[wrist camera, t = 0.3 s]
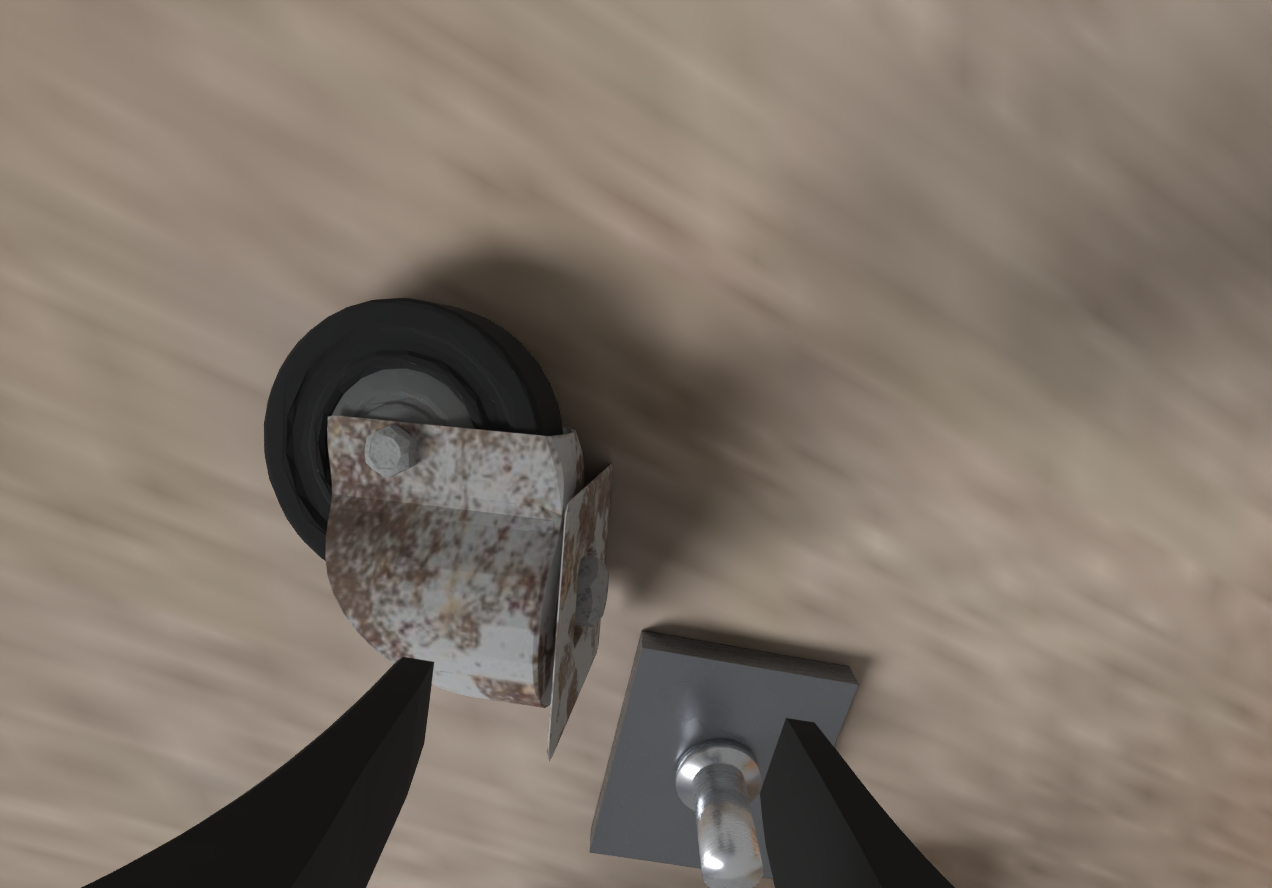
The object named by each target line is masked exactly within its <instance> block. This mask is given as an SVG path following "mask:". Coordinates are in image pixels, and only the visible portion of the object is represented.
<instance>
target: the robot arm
mask: <svg viewBox="0 0 1272 888" xmlns="http://www.w3.org/2000/svg"><path fill="white" fill-rule="evenodd" d="M433 669H434V662H433V661H426V660H420V659H414V658H408V657H402V658H401V659H399V660H397V661H396V662H395V664H394V665H393V666H392V667H391V668H390V669H389V670H388V671H387V672H386V673H385V674H384V675H383V676H382V677H381V678H380V679H379V680H378V682H377V683H376V684H375V685H374V686H373V687H372V688H371V689H370V690H369V691H367V692H366V693H365V694H364V695H363V696H362V697H361V698H360V699H359V700H358V701H357V702H356V703H355V704H354V705H353V706H352V707H351V708H350V709H349V710H347V711H346V712H345V713H344V714H343V715H342V716H341V717H340V718H339V719H338V720H337V721H335V722H334V723H333V724H332V725H331V726H330V727H329V728H328V729H327V730H325V731H324V732H323V733H322V734H321V735H320V736H318V737H317V738H316V739H315V740H314V741H312V742H311V743H310V744H309V745H307V746H306V747H305V748H304V749H303V750H301V751H300V752H299V753H298V754H297V755H295V756H294V757H293V758H292V759H290V760H289V761H288V762H287V763H285V764H284V765H283V766H281V767H280V768H279V769H278V770H276V771H275V772H274V773H272V774H271V775H270V776H268V777H267V778H266V779H264V780H263V781H261V782H260V783H259V784H257V785H256V786H254V787H253V788H252V789H250V790H249V791H247V792H246V793H245V794H243V795H242V796H240V797H239V798H237V799H236V800H234V801H233V802H231V803H230V804H228V805H227V806H225V807H224V808H222V809H221V810H219V811H217V812H216V813H214V814H213V815H211V816H210V817H208V818H207V819H205V820H204V821H202V822H200V823H199V824H197V825H196V826H194V827H192V828H191V829H189V830H187V831H186V832H184V833H183V834H181V835H179V836H177V837H176V838H174V839H172V840H171V841H169V842H167V843H165V844H163V845H162V846H160V847H158V848H156V849H154V850H152V851H151V852H149V853H147V854H145V855H143V856H142V857H140V858H138V859H136V860H134V861H133V862H131V863H129V864H127V865H125V866H123V867H122V868H120V869H118V870H116V871H114V872H112V873H110V874H108V875H106V876H104V877H102V878H100V879H98V880H96V881H94V882H92V883H90V884H88V885H86V886H84V887H81V888H366V886H367V884H368V882H369V880H370V877H371V875H372V873H373V871H374V868H375V866H376V864H377V862H378V860H379V857H380V855H381V853H382V851H383V848H384V846H385V844H386V842H387V840H388V837H389V835H390V833H391V831H392V828H393V826H394V824H395V822H396V819H397V817H398V815H399V813H400V810H401V808H402V806H403V803H404V801H405V799H406V797H407V794H408V791H409V788H410V785H411V782H412V779H413V776H414V773H415V770H416V767H417V764H418V761H419V758H420V754H421V751H422V748H423V745H424V740H425V732H426V725H427V717H428V709H429V701H430V693H431V685H432V677H433ZM760 801H761V811H762V821H763V829H764V836H765V844H766V850H767V854H768V859H769V863H770V867H771V872H772V876H773V880H774V884H775V888H955V887H954V886H953V885H952V884H951V883H950V882H949V881H948V880H947V879H946V878H944V877H943V876H942V875H941V874H940V872H939V871H938V870H937V869H936V868H935V867H934V866H933V865H932V864H931V863H930V862H929V861H928V860H927V859H926V858H925V857H924V855H923V854H922V853H921V852H920V851H919V850H918V849H917V848H916V847H915V845H914V844H913V843H912V842H911V841H910V840H909V839H908V838H907V836H906V835H905V834H904V833H903V832H902V831H901V830H900V829H899V827H898V826H897V825H896V824H895V823H894V821H893V820H892V819H891V818H890V817H889V816H888V814H887V813H886V812H885V811H884V810H883V808H882V807H881V806H880V805H879V804H878V802H877V801H876V800H875V799H874V797H873V796H872V795H871V794H870V792H869V791H868V790H867V789H866V787H865V786H864V785H863V784H862V782H861V781H860V780H859V779H858V777H857V776H856V775H855V773H854V772H853V771H852V770H851V768H850V767H849V766H848V764H847V763H846V762H845V761H844V759H843V758H842V757H841V755H840V754H839V753H838V752H837V750H836V749H835V748H834V746H833V745H832V744H831V742H830V741H829V740H828V739H827V737H826V736H825V735H824V734H823V732H822V731H821V730H820V729H819V727H818V726H817V725H816V724H815V722H809V721H802V720H796V719H790V718H786V719H785V722H784V725H783V728H782V731H781V734H780V736H779V739H778V742H777V745H776V748H775V751H774V754H773V757H772V759H771V762H770V765H769V768H768V771H767V774H766V777H765V780H764V782H763V785H762V788H761V791H760Z"/></svg>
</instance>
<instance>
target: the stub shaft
mask: <svg viewBox="0 0 1272 888" xmlns="http://www.w3.org/2000/svg"><path fill="white" fill-rule="evenodd" d="M857 687H858V683H857V681H856V679H855V677H854V675H853V673H852V671H851V669H850V667H848V666H842V665H836V664H831V663H825V662H819V661H813V660H808V659H802V658H796V657H790V656H785V655H779V654H773V653H767V652H762V651H756V650H750V649H744V648H739V647H733V646H727V645H721V644H716V643H710V642H704V641H698V640H693V639H687V638H681V637H675V636H670V635H664V634H658V633H652V632H647V631H641V635H640V639H639V643H638V647H637V651H636V655H635V659H634V663H633V667H632V671H631V675H630V679H629V682H628V686H627V690H626V694H625V698H624V702H623V706H622V710H621V714H620V718H619V722H618V726H617V730H616V733H615V737H614V741H613V745H612V749H611V753H610V757H609V761H608V765H607V769H606V773H605V777H604V781H603V784H602V788H601V792H600V796H599V800H598V804H597V808H596V812H595V816H594V820H593V824H592V828H591V836H590V852H591V853H598V854H605V855H612V856H618V857H625V858H632V859H639V860H646V861H653V862H660V863H667V864H674V865H680V866H687V867H694V868H701V871H702V878H703V880H704V882H705V884H706V885H707V886H708V887H709V888H753V887H755V886H756V885H757V884H758V883H759V882H760V880H761V878H762V877H763V878H770V879H773V876H772V872H771V867H770V863H769V859H768V854H767V850H766V844H765V836H764V829H763V821H762V811H761V801H760V791H761V788H762V785H763V782H764V780H765V777H766V774H767V771H768V768H769V765H770V762H771V759H772V757H773V754H774V751H775V748H776V745H777V742H778V739H779V736H780V734H781V731H782V728H783V725H784V722H785V719H786V718H790V719H796V720H802V721H809V722H815V724H816V725H817V726H818V727H819V729H820V730H821V731H822V732H823V734H824V735H825V736H826V737H827V739H828V740H829V741H830V742H831V744H832V745H833V746H834V745H835V743H836V740H837V737H838V735H839V732H840V730H841V727H842V725H843V722H844V720H845V717H846V715H847V712H848V710H849V707H850V705H851V702H852V700H853V697H854V695H855V692H856V690H857Z"/></svg>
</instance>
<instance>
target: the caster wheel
mask: <svg viewBox="0 0 1272 888" xmlns="http://www.w3.org/2000/svg"><path fill="white" fill-rule="evenodd" d="M264 452H265V459H266V464H267V469H268V475H269V479H270V482H271V484H272V487H273V489H274V491H275V494H276V496H277V499H278V501H279V504H280V506H281V508H282V510H283V512H284V514H285V516H286V518H287V520H288V521H289V522H290V524H291V525H292V527H293V528H294V529H295V531H296V532H297V534H298V535H299V536H300V537H301V538H302V540H303V541H304V542H305V543H306V544H307V545H308V546H309V547H310V548H311V549H312V550H313V551H314V552H315V553H317V554H318V555H319V556H320V557H321V558H322V559H324V560H325V561H326V566H327V574H328V578H329V581H330V584H331V587H332V591H333V594H334V596H335V598H336V600H337V602H338V603H339V605H340V607H341V609H342V611H343V613H344V615H345V616H346V617H347V619H348V620H349V621H350V623H351V624H352V625H353V627H354V628H355V629H356V631H357V632H358V633H359V634H360V635H361V636H362V637H363V638H364V639H365V640H366V641H367V642H368V643H369V644H370V645H371V646H372V647H373V648H374V649H375V650H376V651H377V652H379V653H380V654H381V655H382V656H384V657H385V658H386V659H388V660H389V661H390V662H392V663H393V664H395V662H396V661H397V660H399V659H401V658H402V657H408V658H414V659H420V660H426V661H433V662H434V669H433V677H432V685H434V686H436V687H439V688H442V689H445V690H448V691H450V692H453V693H457V694H461V695H465V696H470V697H475V698H482V699H489V700H496V701H502V702H509V703H516V704H522V705H529V706H536V707H543V708H545V707H547V706H549V705H550V704H551V709H550V722H549V736H548V749H547V753H548V758H549V761H550V759H551V758H552V756H553V754H554V751H555V749H556V747H557V744H558V742H559V740H560V737H561V735H562V733H563V730H564V728H565V726H566V723H567V721H568V719H569V716H570V714H571V712H572V709H573V707H574V705H575V702H576V700H577V698H578V695H579V693H580V691H581V688H582V686H583V684H584V681H585V679H586V677H587V674H588V672H589V670H590V667H591V665H592V663H593V660H594V658H595V656H596V653H597V649H598V644H599V633H600V621H601V617H602V616H603V613H604V610H605V605H606V599H607V592H608V580H609V575H608V570H607V568H606V566H605V559H606V547H607V535H608V523H609V510H610V498H611V486H612V473H613V471H612V463H611V464H610V465H609V466H608V467H607V468H606V469H605V470H604V471H603V472H601V473H600V474H599V475H598V476H597V477H596V478H595V479H594V480H593V481H591V482H590V483H589V484H588V485H587V486H586V487H585V488H584V489H583V480H584V461H583V453H582V449H581V446H580V443H579V440H578V436H577V433H576V430H575V429H574V428H573V427H569V426H562V420H561V416H560V411H559V406H558V403H557V401H556V398H555V395H554V393H553V390H552V387H551V385H550V383H549V382H548V380H547V378H546V376H545V374H544V373H543V371H542V369H541V367H540V365H539V364H538V362H537V361H536V360H535V359H534V358H533V357H532V355H531V354H530V353H529V352H528V351H527V350H526V348H525V347H524V346H523V345H522V344H521V343H520V342H519V341H518V340H517V339H515V338H514V337H513V336H512V335H511V334H509V333H508V332H507V331H506V330H504V329H503V328H501V327H500V326H498V325H496V324H495V323H493V322H491V321H489V320H488V319H486V318H484V317H481V316H478V315H476V314H473V313H471V312H468V311H465V310H462V309H459V308H455V307H450V306H445V305H440V304H435V303H430V302H425V301H420V300H416V299H411V298H395V299H380V300H371V301H367V302H364V303H360V304H357V305H353V306H350V307H347V308H345V309H343V310H341V311H339V312H337V313H335V314H333V315H331V316H329V317H327V318H326V319H325V320H323V321H322V322H321V323H319V324H318V325H317V326H315V327H314V328H313V329H311V330H310V331H309V332H308V333H307V334H306V335H305V336H304V337H303V338H302V339H301V340H300V341H299V342H298V343H297V344H296V346H295V347H294V348H293V350H292V351H291V352H290V354H289V355H288V356H287V358H286V360H285V361H284V363H283V365H282V366H281V368H280V369H279V372H278V374H277V377H276V379H275V381H274V384H273V386H272V389H271V393H270V396H269V399H268V403H267V409H266V415H265V421H264Z"/></svg>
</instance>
